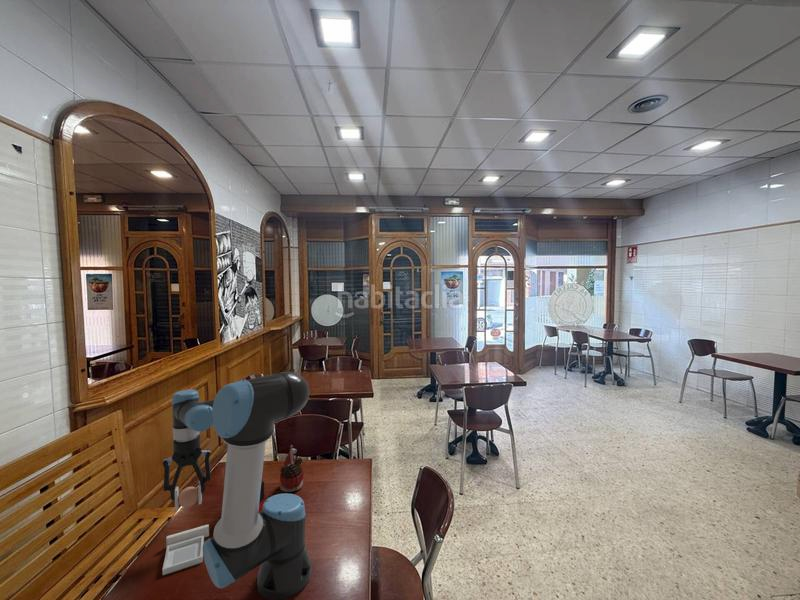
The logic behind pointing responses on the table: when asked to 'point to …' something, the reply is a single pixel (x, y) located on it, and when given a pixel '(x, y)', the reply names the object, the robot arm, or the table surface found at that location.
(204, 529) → the low wall
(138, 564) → the table surface
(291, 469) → the cake
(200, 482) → the robot arm
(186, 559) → the light gray square tray
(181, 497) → the ball
